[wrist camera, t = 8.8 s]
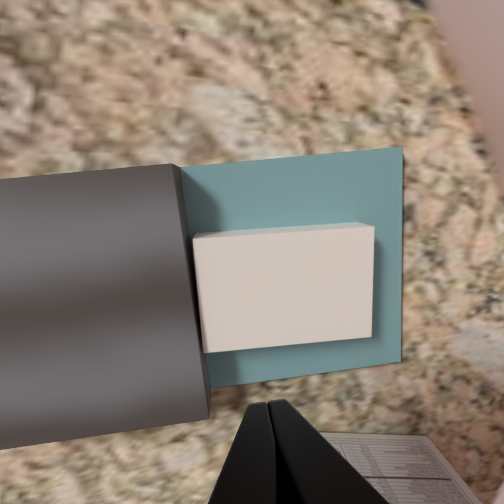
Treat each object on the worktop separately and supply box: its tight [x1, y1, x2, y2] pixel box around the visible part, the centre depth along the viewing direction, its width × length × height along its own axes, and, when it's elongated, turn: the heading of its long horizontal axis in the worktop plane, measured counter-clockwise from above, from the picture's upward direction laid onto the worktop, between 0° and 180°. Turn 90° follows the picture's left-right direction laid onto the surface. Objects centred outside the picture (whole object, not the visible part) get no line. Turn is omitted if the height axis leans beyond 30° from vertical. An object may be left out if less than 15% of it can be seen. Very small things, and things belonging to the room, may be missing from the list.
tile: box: [192, 222, 374, 353], centre depth 16 cm, size 6×9×2 cm, turn 93°
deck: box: [0, 164, 211, 450], centre depth 16 cm, size 13×12×3 cm
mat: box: [180, 147, 403, 389], centre depth 18 cm, size 13×12×1 cm
